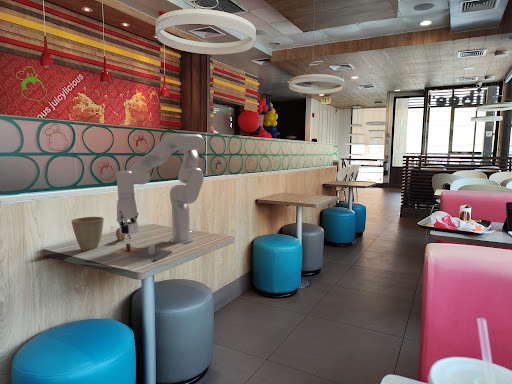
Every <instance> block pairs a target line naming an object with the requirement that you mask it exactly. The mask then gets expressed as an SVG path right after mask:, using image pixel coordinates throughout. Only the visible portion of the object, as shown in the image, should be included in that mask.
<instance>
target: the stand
mask: <svg viewBox="0 0 512 384" xmlns="http://www.w3.org/2000/svg"><path fill="white" fill-rule="evenodd" d="M146 249H147V248H145V247H135V246H131V243H130V242H129V243H126V244H125V246H124V247H122V248H120V249H117V250H114V251H112V252H111V254H114V255H115V254H116V255H125V256H133V255H135V254H137V253H139V252H141V251H144V250H146Z"/></svg>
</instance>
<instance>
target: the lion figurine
mask: <svg viewBox="0 0 512 384" xmlns="http://www.w3.org/2000/svg"><path fill="white" fill-rule="evenodd" d="M115 237H116V240H117V241H118V242H120V239H121V241H122V242H125V237H127V238H128V240H131V239H132V238H131V237H132V235H127V236H126V235H123V234H120V227H118V228H117V229H116V231H115Z"/></svg>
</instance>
